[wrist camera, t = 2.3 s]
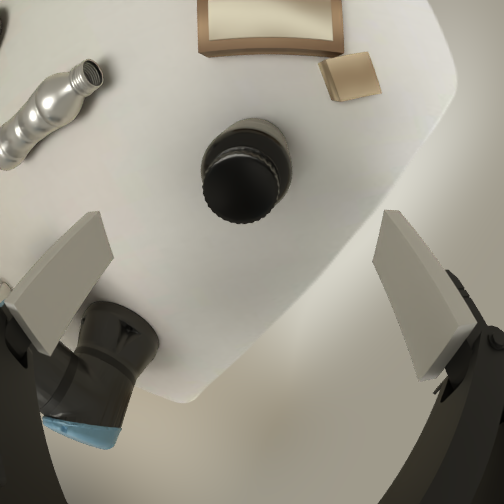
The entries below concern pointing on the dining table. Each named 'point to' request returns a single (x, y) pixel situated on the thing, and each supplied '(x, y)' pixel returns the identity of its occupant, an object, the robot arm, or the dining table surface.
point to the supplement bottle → (246, 171)
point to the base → (270, 27)
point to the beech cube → (350, 77)
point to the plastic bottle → (47, 111)
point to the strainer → (4, 291)
